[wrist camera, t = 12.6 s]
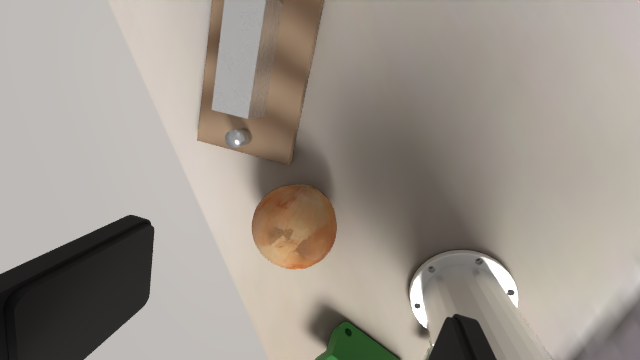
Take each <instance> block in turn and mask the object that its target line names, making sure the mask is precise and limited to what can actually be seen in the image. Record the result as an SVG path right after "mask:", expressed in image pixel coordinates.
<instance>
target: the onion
mask: <svg viewBox="0 0 640 360" xmlns="http://www.w3.org/2000/svg"><path fill="white" fill-rule="evenodd" d="M336 230H337V224H336V217H335V211H334V208H333V206H332V204H331V203H330V201H329V200H328V199H327V198H326V197H325V196H324V195H323V194H322V193H321V192H320V191H318V190H317V189H316V188H315V187H313V186H311V185H301V184H300V185H287V186H282V187H280V188H277V189H275V190H273V191H272V192H270V193H269V194H267V195H266V196H265V197H264V198H263V199H262V200H261V202H260V203H259V204H258V206H257V208H256V210H255V213H254V216H253V221H252V234H253V238H254V242H255V244H256V246H257V248H258V250H259V251H260V253H261V254H262V255H263V256H264V257H265V258H266V259H268V260H269V261H270V262H271V263H273V264H275V265H277V266H280V267H283V268H287V269H304V268H307V267H310V266H312V265H314V264H316V263H318V262H319V261H321V260H322V259H323V258H324V257H325V256H326V255H327V254H328V253H329V251H330V250H331V248H332V246H333V244H334V241H335V237H336Z"/></svg>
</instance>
